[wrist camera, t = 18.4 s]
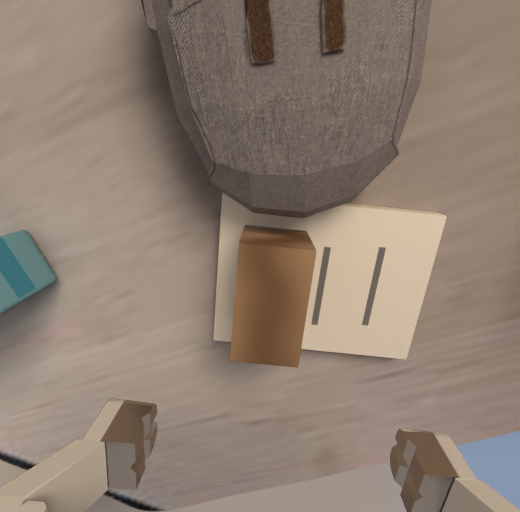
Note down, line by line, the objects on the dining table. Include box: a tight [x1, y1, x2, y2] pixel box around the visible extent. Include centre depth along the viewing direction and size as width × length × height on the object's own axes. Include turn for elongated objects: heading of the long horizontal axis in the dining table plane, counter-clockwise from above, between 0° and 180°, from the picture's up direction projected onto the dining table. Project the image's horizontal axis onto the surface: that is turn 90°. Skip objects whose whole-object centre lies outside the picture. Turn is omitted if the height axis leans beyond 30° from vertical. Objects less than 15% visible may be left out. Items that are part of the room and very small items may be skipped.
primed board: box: [213, 193, 447, 359], centre depth 25 cm, size 16×12×2 cm
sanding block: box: [230, 225, 317, 367], centre depth 22 cm, size 4×8×5 cm, turn 174°
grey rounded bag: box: [141, 0, 432, 218], centre depth 17 cm, size 15×8×20 cm
